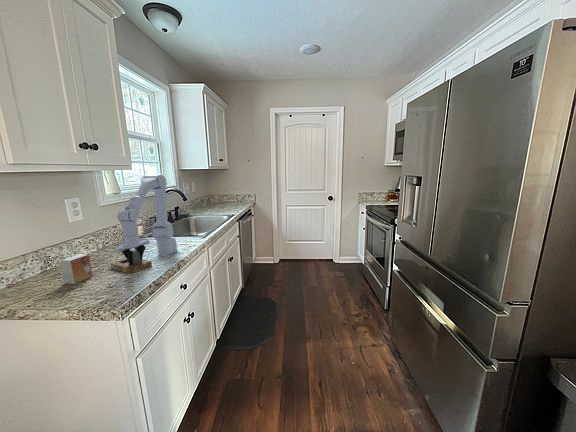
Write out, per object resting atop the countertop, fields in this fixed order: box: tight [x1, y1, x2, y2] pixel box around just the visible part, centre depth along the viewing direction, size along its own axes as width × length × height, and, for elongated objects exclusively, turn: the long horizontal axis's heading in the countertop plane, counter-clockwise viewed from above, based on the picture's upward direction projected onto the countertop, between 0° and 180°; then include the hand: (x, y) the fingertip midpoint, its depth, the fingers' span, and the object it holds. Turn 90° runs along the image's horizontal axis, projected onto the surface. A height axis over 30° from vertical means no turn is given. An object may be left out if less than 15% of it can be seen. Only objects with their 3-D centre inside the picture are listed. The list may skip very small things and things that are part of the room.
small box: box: [59, 253, 94, 285], centre depth 105 cm, size 8×6×10 cm
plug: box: [129, 249, 141, 266], centre depth 114 cm, size 4×4×8 cm
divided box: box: [110, 257, 153, 276], centre depth 116 cm, size 10×16×3 cm, turn 62°
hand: (135, 262), depth 114 cm, fingers closed on plug, 3 cm apart
